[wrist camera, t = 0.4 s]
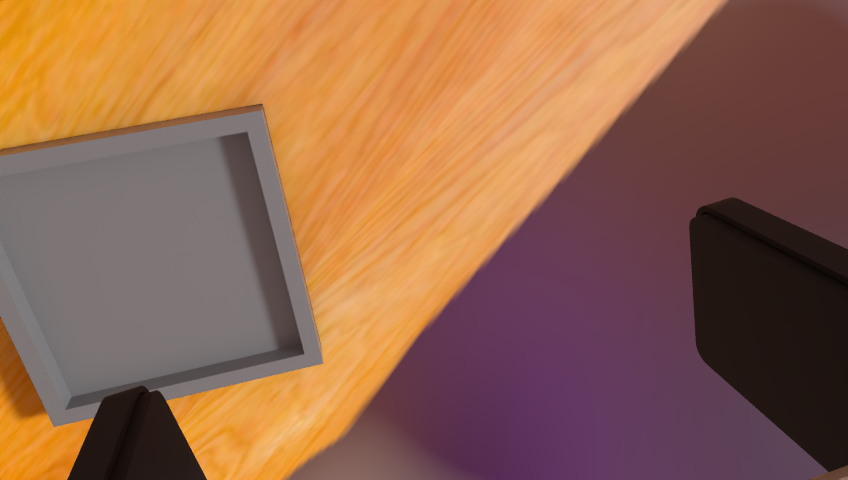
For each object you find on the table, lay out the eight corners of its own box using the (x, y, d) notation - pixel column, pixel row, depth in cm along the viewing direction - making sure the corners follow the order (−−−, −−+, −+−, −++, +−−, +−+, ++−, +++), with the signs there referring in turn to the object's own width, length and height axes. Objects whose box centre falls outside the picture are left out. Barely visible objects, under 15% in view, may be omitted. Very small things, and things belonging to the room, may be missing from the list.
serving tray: (-53, 158, 39) (-72, 169, 37) (262, 103, 42) (261, 110, 40) (64, 406, 48) (53, 427, 45) (321, 347, 50) (323, 363, 48)
